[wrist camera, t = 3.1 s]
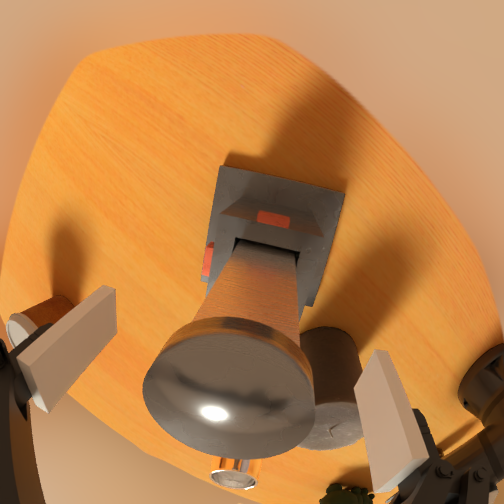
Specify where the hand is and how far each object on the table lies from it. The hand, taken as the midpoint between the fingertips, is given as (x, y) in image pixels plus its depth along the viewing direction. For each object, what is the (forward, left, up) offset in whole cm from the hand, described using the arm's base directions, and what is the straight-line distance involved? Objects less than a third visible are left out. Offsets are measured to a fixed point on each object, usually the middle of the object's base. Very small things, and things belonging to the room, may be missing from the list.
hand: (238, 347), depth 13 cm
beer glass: (-3, +29, -22) cm, 37 cm away
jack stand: (0, 0, -22) cm, 22 cm away
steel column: (0, 0, -20) cm, 20 cm away
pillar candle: (-11, +15, -22) cm, 29 cm away
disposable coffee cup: (+32, +21, -22) cm, 44 cm away
